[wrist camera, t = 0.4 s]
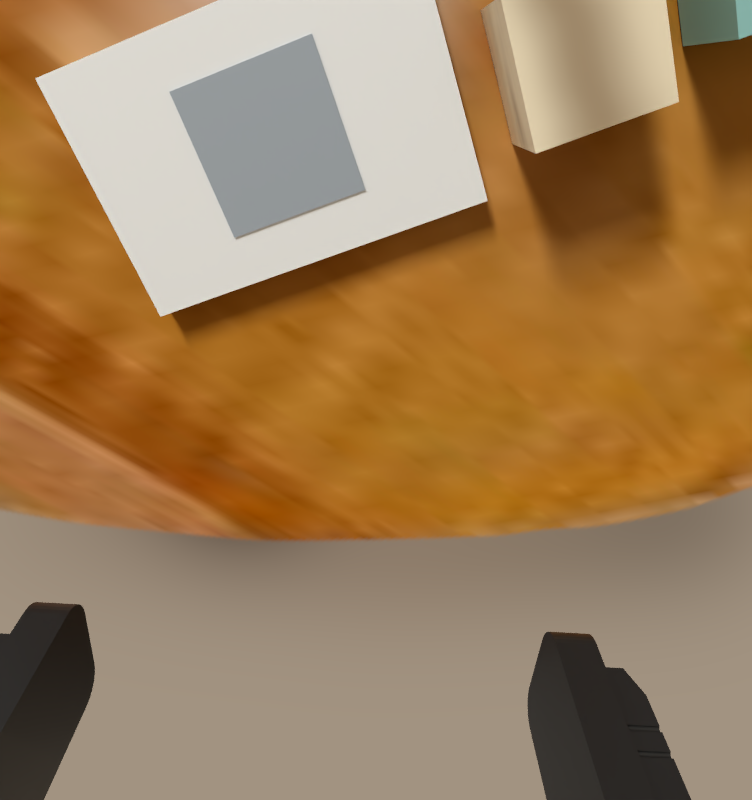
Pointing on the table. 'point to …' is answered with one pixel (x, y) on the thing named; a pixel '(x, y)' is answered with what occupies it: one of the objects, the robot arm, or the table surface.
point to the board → (267, 137)
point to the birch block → (578, 65)
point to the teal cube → (714, 20)
